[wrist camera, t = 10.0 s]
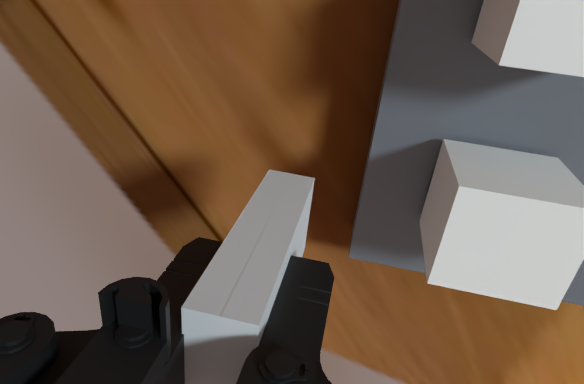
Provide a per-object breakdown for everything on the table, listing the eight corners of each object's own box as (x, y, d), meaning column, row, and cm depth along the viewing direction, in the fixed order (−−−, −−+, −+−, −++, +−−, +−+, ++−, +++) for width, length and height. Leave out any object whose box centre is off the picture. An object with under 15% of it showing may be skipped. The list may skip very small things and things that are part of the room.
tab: (443, 138, 16) (459, 186, 12) (557, 157, 15) (608, 212, 12) (419, 221, 17) (427, 283, 14) (521, 240, 17) (556, 309, 13)
